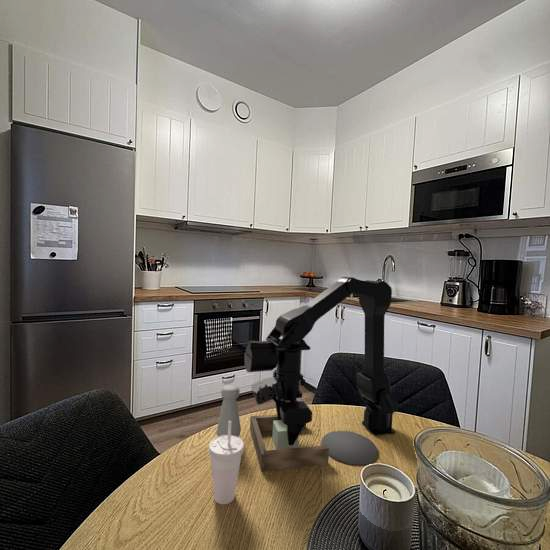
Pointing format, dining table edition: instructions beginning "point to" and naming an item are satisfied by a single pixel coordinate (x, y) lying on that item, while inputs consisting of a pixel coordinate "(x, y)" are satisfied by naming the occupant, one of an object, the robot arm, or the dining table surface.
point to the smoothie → (225, 465)
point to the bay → (283, 456)
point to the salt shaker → (229, 412)
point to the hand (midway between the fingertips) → (285, 433)
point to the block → (281, 436)
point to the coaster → (350, 447)
